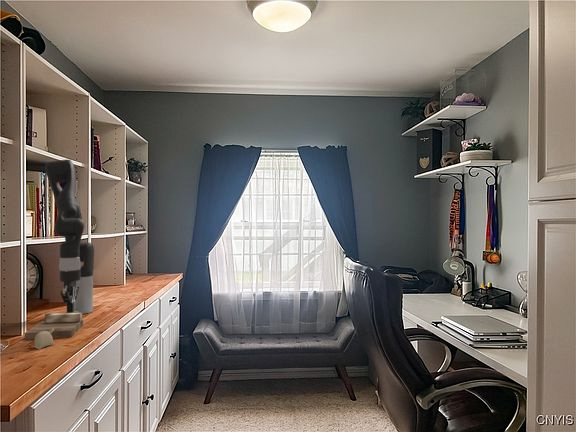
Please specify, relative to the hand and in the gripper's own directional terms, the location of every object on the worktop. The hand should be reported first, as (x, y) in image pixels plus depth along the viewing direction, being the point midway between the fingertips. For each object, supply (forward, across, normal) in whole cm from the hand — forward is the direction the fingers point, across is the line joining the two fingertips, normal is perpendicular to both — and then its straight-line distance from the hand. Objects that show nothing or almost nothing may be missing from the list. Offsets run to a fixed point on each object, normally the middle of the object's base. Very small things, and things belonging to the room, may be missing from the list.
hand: (70, 312), depth 179 cm
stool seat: (+8, 0, -6) cm, 9 cm away
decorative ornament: (+8, +20, -1) cm, 21 cm away
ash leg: (+5, -6, -5) cm, 9 cm away
